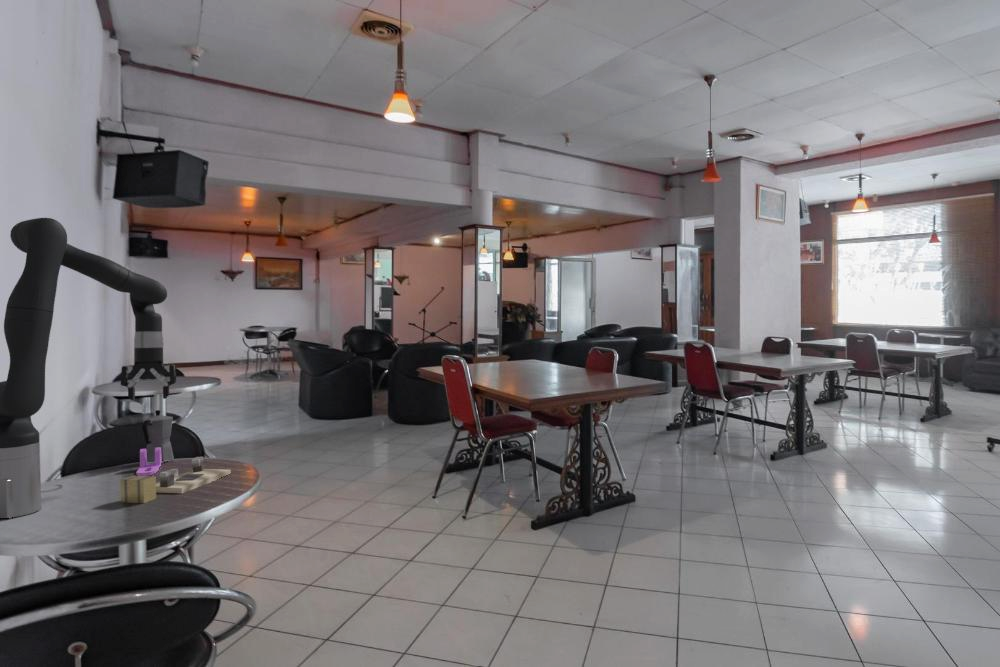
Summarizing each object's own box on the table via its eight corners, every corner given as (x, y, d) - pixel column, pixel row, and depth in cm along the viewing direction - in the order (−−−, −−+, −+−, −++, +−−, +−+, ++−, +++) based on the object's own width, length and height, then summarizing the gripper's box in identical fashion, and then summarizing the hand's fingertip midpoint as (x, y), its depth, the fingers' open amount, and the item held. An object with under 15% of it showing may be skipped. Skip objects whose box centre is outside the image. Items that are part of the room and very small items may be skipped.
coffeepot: (155, 457, 198) (154, 408, 197) (182, 456, 198) (181, 407, 198) (129, 468, 182) (128, 414, 182) (159, 467, 183) (157, 413, 183)
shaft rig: (181, 493, 151) (181, 473, 151) (144, 492, 154) (144, 472, 154) (230, 474, 171) (230, 456, 171) (197, 473, 173) (196, 456, 173)
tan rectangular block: (156, 498, 147) (155, 476, 147) (143, 503, 143) (143, 480, 143) (134, 497, 149) (133, 475, 149) (121, 502, 145) (120, 479, 145)
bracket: (142, 469, 182) (141, 448, 182) (161, 466, 184) (161, 446, 184) (135, 478, 170) (134, 455, 170) (156, 475, 172) (155, 453, 172)
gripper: (118, 346, 163) (118, 401, 163) (173, 346, 168) (173, 399, 168) (124, 346, 170) (125, 399, 170) (177, 346, 175) (177, 396, 175)
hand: (149, 399), depth 169 cm, fingers open, 8 cm apart
